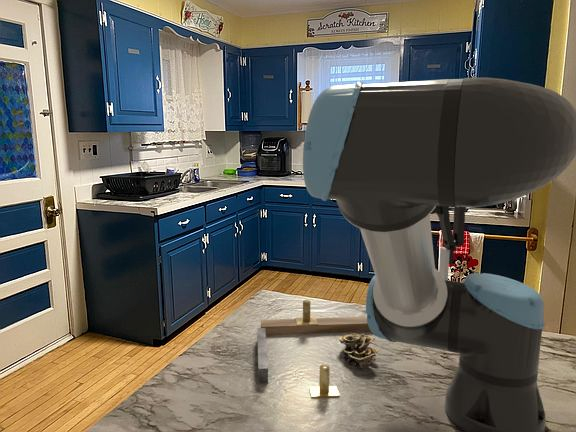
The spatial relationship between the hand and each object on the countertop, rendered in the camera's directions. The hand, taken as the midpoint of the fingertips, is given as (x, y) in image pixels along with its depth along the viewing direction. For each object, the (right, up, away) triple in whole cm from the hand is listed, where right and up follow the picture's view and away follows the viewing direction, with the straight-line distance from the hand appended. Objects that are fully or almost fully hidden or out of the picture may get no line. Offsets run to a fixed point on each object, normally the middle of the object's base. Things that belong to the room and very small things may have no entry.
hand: (429, 278), depth 93 cm
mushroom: (-14, -17, +2) cm, 22 cm away
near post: (-23, -19, -12) cm, 32 cm away
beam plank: (-21, -14, +15) cm, 30 cm away
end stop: (-35, -17, 0) cm, 39 cm away
